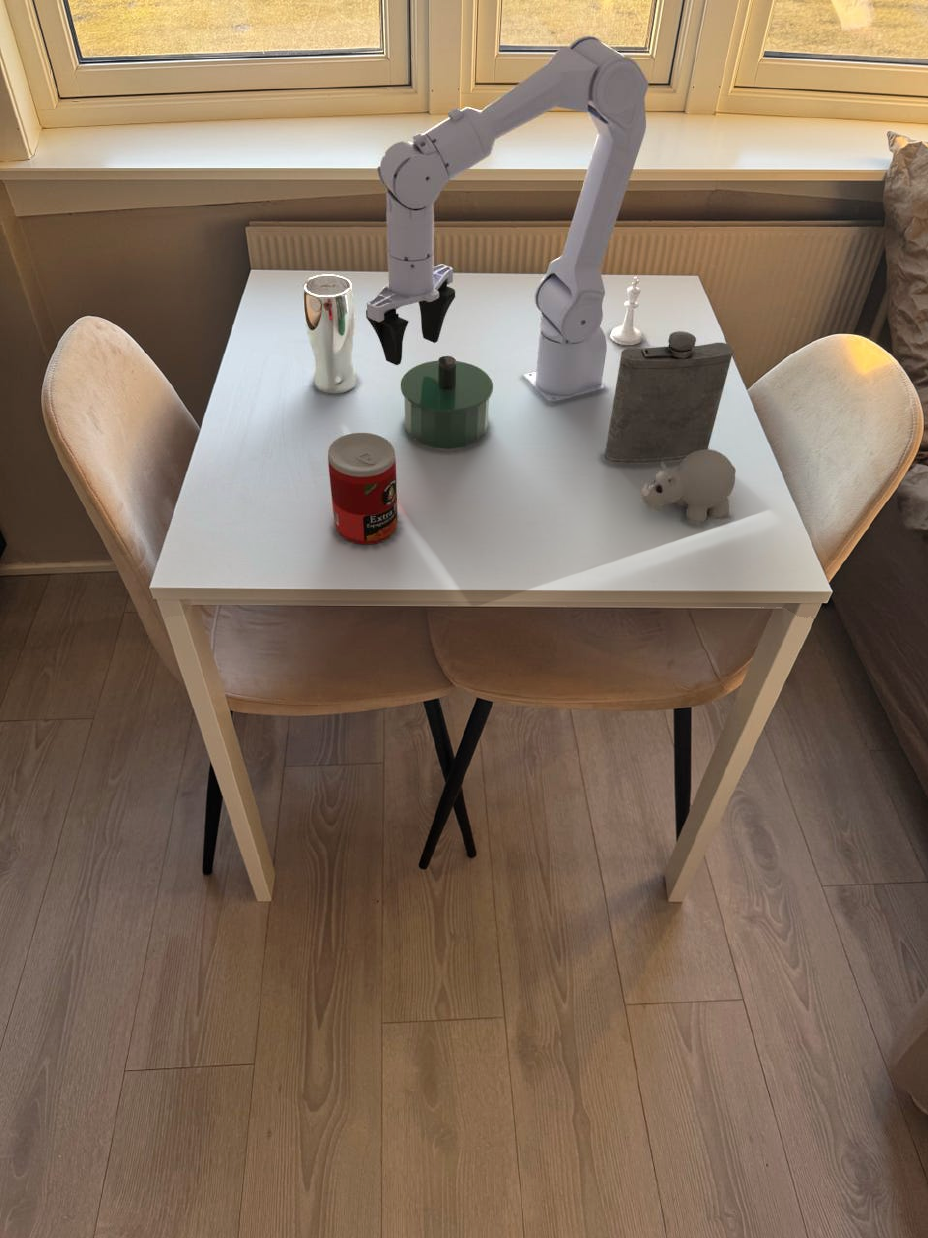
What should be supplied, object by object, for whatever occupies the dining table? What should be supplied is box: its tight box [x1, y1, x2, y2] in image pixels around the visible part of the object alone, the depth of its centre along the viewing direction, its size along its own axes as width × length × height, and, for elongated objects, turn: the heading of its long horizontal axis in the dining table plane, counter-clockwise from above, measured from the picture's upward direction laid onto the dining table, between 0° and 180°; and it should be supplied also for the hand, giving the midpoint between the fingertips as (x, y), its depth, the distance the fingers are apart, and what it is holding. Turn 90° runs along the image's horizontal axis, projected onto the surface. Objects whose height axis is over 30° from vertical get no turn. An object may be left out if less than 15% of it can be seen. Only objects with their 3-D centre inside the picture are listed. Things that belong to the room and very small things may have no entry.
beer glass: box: [302, 274, 357, 395], centre depth 131 cm, size 7×7×15 cm
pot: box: [403, 396, 490, 450], centre depth 127 cm, size 11×12×6 cm
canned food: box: [327, 432, 398, 545], centre depth 110 cm, size 8×8×11 cm
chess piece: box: [610, 276, 642, 346], centre depth 144 cm, size 5×5×10 cm
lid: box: [400, 355, 494, 413], centre depth 123 cm, size 12×12×5 cm
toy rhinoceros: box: [641, 448, 736, 524], centre depth 114 cm, size 7×12×8 cm, turn 105°
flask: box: [604, 330, 734, 464], centre depth 119 cm, size 4×14×18 cm, turn 100°
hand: (412, 350), depth 124 cm, fingers open, 7 cm apart
